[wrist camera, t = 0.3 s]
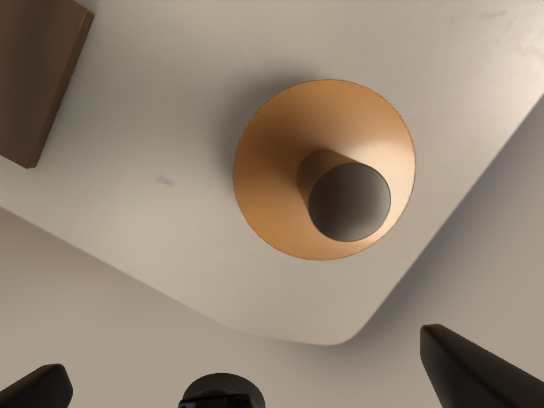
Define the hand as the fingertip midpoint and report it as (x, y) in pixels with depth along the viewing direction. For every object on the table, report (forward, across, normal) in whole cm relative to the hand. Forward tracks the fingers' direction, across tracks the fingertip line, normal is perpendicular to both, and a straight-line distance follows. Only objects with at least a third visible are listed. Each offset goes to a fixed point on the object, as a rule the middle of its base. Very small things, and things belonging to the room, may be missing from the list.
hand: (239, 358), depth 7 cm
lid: (+10, -4, -2) cm, 11 cm away
